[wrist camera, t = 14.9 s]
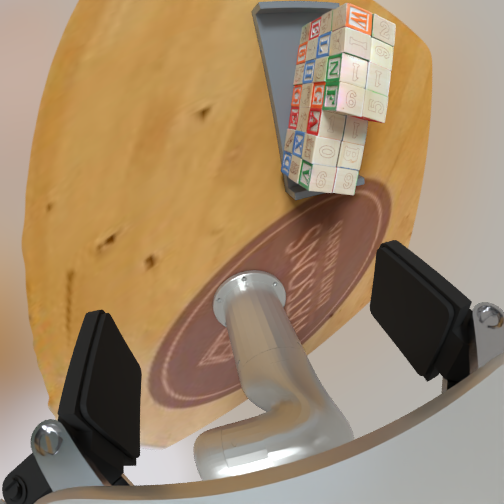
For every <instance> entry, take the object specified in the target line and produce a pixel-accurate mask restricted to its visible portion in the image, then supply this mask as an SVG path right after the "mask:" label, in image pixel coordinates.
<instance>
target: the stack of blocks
mask: <svg viewBox="0 0 504 504" xmlns="http://www.w3.org/2000/svg"><path fill="white" fill-rule="evenodd" d="M395 30H396V25H395V24H394V23H392V22H390V21H388V20H386V19H384V18H382V17H380V16H378V15H376V14H372V13H371V12H369V11H367V10H365V9H362V8H360V7H358V6H355V5H353V4H350V3H345V4H343V5H341V6H339V7H338V8H336V9H333V10H331V11H329V12H327V13H325V14H324V15H322V16H321V17H319V18H317V19H316V20H314V21H312V22H310V23H308V24H306V25H305V26H303V27H302V31H301V38H300V45H299V48H298V55H297V62H296V69H295V76H294V83H293V85H294V89H293V96H292V103H291V112H290V119H289V125H288V129H287V133H286V140H285V146H284V154H283V160H282V167H281V172H282V173H283V174H285V175H286V176H287V177H289V178H290V179H291V180H293V181H294V182H295V183H297V184H299V185H301V186H302V187H304V188H305V189H306V190H308V191H315V192H325V193H338V194H346V195H354V193H355V188H356V183H357V179H358V174H359V172H358V171H359V170H360V166H361V161H362V156H363V151H364V145H365V140H366V134H367V128H368V121H374V122H380V123H385V118H386V111H387V104H388V93H389V86H390V77H391V70H392V61H393V49H394V48H393V46H394V43H395Z"/></svg>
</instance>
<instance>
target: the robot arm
mask: <svg viewBox="0 0 504 504" xmlns="http://www.w3.org/2000/svg"><path fill="white" fill-rule="evenodd" d="M285 301H286V293H285V289H284V287H283V285H282V283H281V282H280V281H279V279H278V278H276V277H275V276H274V275H272V274H270V273H268V272H264V271H257V270H252V271H245V272H241V273H238V274H236V275H233V276H232V277H230V278H228V279H227V280H226V281H225V282H223V283H222V284H221V285H220V287H219V288H218V289H217V291H216V293H215V295H214V299H213V310H214V314H215V316H216V318H217V320H218V321H219V322H220V323H221V324H222V325H224V326H225V327H227V330H228V334H229V338H230V342H231V347H232V351H233V355H234V359H235V363H236V367H237V371H238V375H239V379H240V383H241V387H242V389H243V391H244V393H245V395H246V396H247V397H248V399H249V400H250V401H251V402H253V403H254V404H255V405H256V406H258V407H259V408H261V409H263V410H265V411H266V413H264V414H261V415H259V416H256V417H252V418H249V419H246V420H242V421H238V422H235V423H231V424H227V425H224V426H220V427H217V428H213V429H210V430H207V431H205V432H203V433H202V434H200V436H198V438H197V439H196V441H195V444H194V459H195V463H196V466H197V470H198V472H199V474H200V477H201V479H202V481H198V482H188V483H178V484H165V485H144V486H134V485H133V484H132V482H131V481H130V480H129V479H128V478H127V477H126V476H125V475H124V474H123V473H124V472H123V466H133V465H134V466H135V465H136V458H138V457H139V456H140V396H141V376H142V374H141V368H140V366H139V364H138V362H137V361H136V359H135V357H134V356H133V354H132V352H131V351H130V349H129V347H128V346H127V344H126V342H125V340H124V339H123V337H122V335H121V333H120V331H119V330H118V328H117V326H116V324H115V322H114V320H113V319H112V317H111V315H110V314H109V313H105V312H104V311H103V310H97V311H92V312H88V313H86V315H85V318H84V321H83V324H82V326H81V329H80V332H79V335H78V339H77V342H76V345H75V348H74V351H73V355H72V358H71V362H70V365H69V369H68V372H67V376H66V380H65V384H64V388H63V392H62V396H61V400H60V405H59V409H58V415H59V417H58V421H57V420H52V419H49V420H45V421H43V422H41V423H40V424H39V425H38V426H37V427H36V428H35V430H34V431H33V433H32V436H31V448H32V452H33V453H32V454H31V455H29V456H28V457H27V458H26V459H25V460H24V461H23V462H22V463H21V464H19V465H18V466H17V467H16V468H15V469H14V470H13V471H12V472H11V473H9V474H8V476H7V477H6V478H5V480H4V482H3V487H2V491H3V497H4V499H5V501H4V500H2V499H1V500H0V504H504V312H503V311H502V310H501V309H500V308H499V307H498V306H496V305H494V304H491V303H488V302H482V303H479V304H477V305H476V306H475V307H474V309H473V311H472V310H471V309H469V308H470V305H471V301H470V300H469V299H468V298H467V297H466V296H465V295H463V294H462V293H461V292H460V291H459V290H458V289H457V288H456V287H454V286H453V285H452V284H451V283H450V282H448V281H447V280H446V279H445V278H444V277H443V276H441V275H440V274H439V273H438V272H437V271H435V270H434V269H433V268H431V267H430V266H429V265H428V264H427V263H425V262H424V261H423V260H422V259H420V258H419V257H418V256H417V255H415V254H414V253H413V252H411V251H410V250H409V249H407V248H406V247H405V246H404V245H402V244H401V243H400V242H398V241H396V240H393V241H389V242H386V243H382V244H381V245H380V248H379V249H378V250H377V253H376V263H375V272H374V280H373V288H372V295H371V302H370V311H371V314H372V315H373V317H374V318H375V319H376V320H377V322H378V323H379V324H380V325H381V327H382V328H383V329H384V330H385V332H386V333H387V334H388V335H389V337H390V338H391V339H392V341H393V342H394V343H395V344H396V346H397V347H398V348H399V349H400V351H401V352H402V353H403V355H404V356H405V357H406V358H407V360H408V361H409V362H410V364H411V365H412V366H413V368H414V369H415V370H416V372H417V373H418V374H419V375H420V376H424V378H425V379H426V380H427V381H429V380H431V379H433V378H435V377H436V376H437V375H438V374H439V373H440V374H441V375H442V376H443V380H442V394H441V395H439V396H438V397H436V398H434V399H433V400H431V401H429V402H428V403H426V404H424V405H423V406H421V407H419V408H418V409H416V410H414V411H413V412H411V413H409V414H407V415H405V416H403V417H401V418H400V419H398V420H396V421H394V422H392V423H390V424H388V425H386V426H384V427H382V428H380V429H378V430H375V431H373V432H371V433H369V434H367V435H365V436H362V437H360V438H357V439H355V440H354V436H353V432H352V429H351V427H350V425H349V423H348V421H347V419H346V418H345V416H344V415H343V413H342V412H341V411H340V409H339V408H338V407H337V405H336V404H335V403H334V402H333V400H332V399H331V398H330V396H329V395H328V393H327V392H326V390H325V389H324V387H323V386H322V384H321V382H320V380H319V379H318V377H317V375H316V374H315V371H314V370H313V368H312V366H311V364H310V362H309V359H308V358H307V355H306V353H305V351H304V349H303V347H302V345H301V343H300V341H299V339H298V337H297V335H296V332H295V330H294V328H293V326H292V324H291V322H290V320H289V318H288V316H287V314H286V312H285V310H284V305H285Z"/></svg>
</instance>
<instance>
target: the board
mask: <svg viewBox="0 0 504 504" xmlns="http://www.w3.org/2000/svg"><path fill="white" fill-rule="evenodd" d="M338 7H339V3H329V2H311V1H274V2H259V3H258V4H257V5H256V6H255V8H254V9H253V10H252V11H251V12H252V16H253V20H254V25H255V29H256V33H257V38H258V42H259V47H260V52H261V56H262V61H263V66H264V71H265V76H266V81H267V86H268V91H269V96H270V101H271V107H272V112H273V118H274V123H275V129H276V134H277V140H278V146H279V152H280V158H281V164H282V160H283V154H284V146H285V140H286V133H287V129H288V125H289V119H290V112H291V103H292V96H293V89H294V85H293V83H294V76H295V69H296V62H297V55H298V48H299V45H300V38H301V31H302V27H303V26H305V25H306V24H308V23H310V22H312V21H314V20H316V19H317V18H319V17H321V16H322V15H324V14H325V13H327V12H329V11H331V10H333V9H336V8H338ZM283 177H284V183H285V190H286V192H287V193H288V194H289V195H290V196H291V197H293V198H294V199H295V200H298V199H302V198H307V197H311V196H315V195H319V194H323V193H325V192H315V191H308V190H306V189H305V188H304V187H302V186H301V185H299V184H297V183H295V182H294V181H293V180H291V179H290V178H289V177H287V176H286V175H285V174H283ZM363 184H364V177H362V176H360V175H358V179H357V183H356V186H358V185H363Z"/></svg>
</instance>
